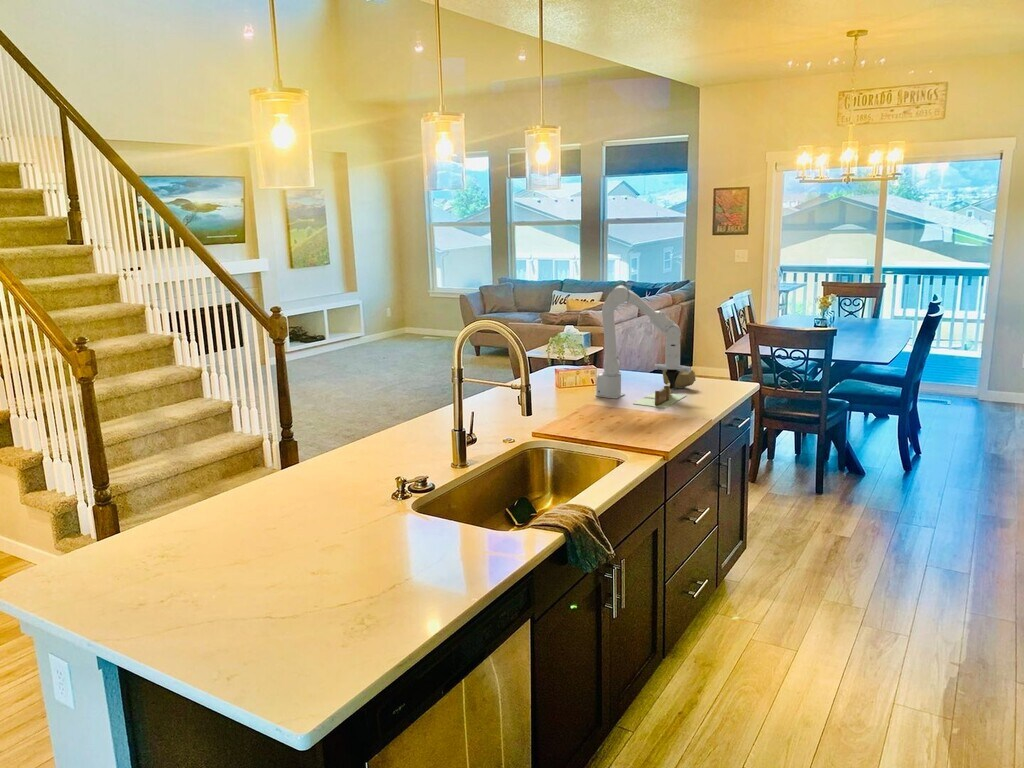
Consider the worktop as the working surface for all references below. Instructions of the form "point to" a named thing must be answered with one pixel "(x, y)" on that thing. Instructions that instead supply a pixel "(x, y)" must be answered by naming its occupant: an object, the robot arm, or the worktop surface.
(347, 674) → the worktop surface
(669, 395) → the hinged panel
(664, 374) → the low-poly potato
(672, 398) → the board
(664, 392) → the fixed fence
